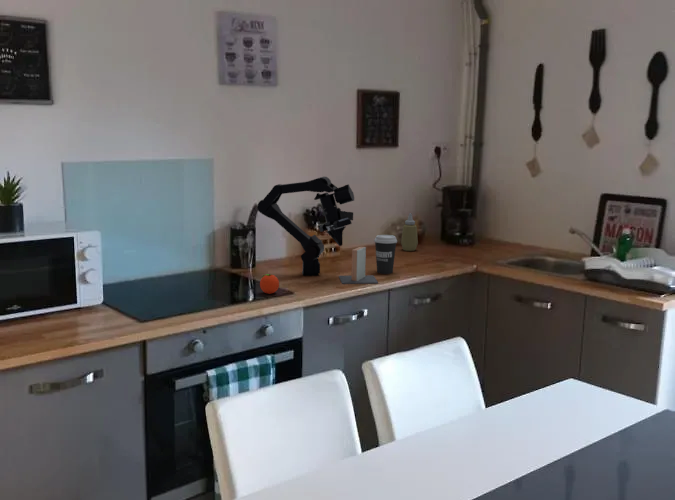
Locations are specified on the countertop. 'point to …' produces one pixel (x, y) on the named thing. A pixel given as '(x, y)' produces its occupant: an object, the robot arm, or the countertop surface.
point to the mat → (366, 280)
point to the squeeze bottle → (409, 235)
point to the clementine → (269, 283)
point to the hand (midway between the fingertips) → (340, 245)
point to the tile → (358, 263)
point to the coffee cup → (385, 253)
